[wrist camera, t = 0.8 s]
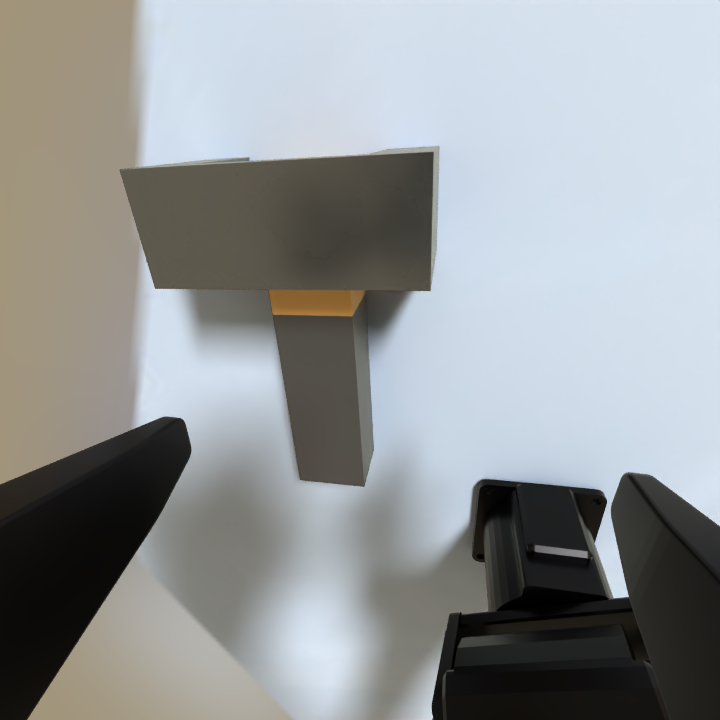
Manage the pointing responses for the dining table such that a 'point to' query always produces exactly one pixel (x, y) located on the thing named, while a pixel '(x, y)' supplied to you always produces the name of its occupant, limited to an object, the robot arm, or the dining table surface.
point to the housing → (290, 221)
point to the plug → (326, 381)
